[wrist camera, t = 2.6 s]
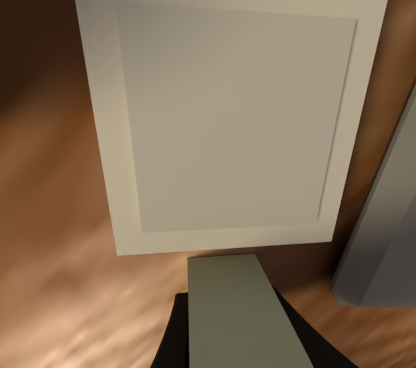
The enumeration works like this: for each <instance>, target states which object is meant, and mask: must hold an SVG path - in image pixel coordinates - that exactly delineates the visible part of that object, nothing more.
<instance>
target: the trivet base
mask: <svg viewBox="0 0 416 368" xmlns="http://www.w3.org/2000/svg"><path fill="white" fill-rule="evenodd" d="M75 3H76V9H77V15H78V21H79V27H80V33H81V39H82V45H83V52H84V58H85V64H86V70H87V76H88V82H89V88H90V94H91V100H92V106H93V112H94V118H95V124H96V130H97V136H98V142H99V148H100V154H101V160H102V167H103V173H104V179H105V185H106V191H107V197H108V203H109V209H110V215H111V221H112V227H113V233H114V239H115V245H116V251H117V256H119V255H135V254H150V253H165V252H180V251H195V250H211V249H226V248H241V247H256V246H272V245H287V244H302V243H317V242H331V241H332V237H333V233H334V228H335V224H336V220H337V215H338V211H339V207H340V202H341V198H342V194H343V190H344V185H345V181H346V177H347V172H348V168H349V164H350V159H351V155H352V151H353V147H354V142H355V138H356V134H357V129H358V125H359V121H360V116H361V112H362V108H363V104H364V99H365V95H366V91H367V86H368V82H369V78H370V74H371V69H372V65H373V61H374V56H375V52H376V48H377V43H378V39H379V35H380V31H381V26H382V22H383V18H384V13H385V9H386V5H387V0H75Z"/></svg>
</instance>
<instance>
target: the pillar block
mask: <svg viewBox="0 0 416 368" xmlns="http://www.w3.org/2000/svg"><path fill="white" fill-rule="evenodd" d="M188 307H189V358H190V368H314V367H313V365H312V363H311V361H310V359H309V357H308V355H307V353H306V351H305V350H304V348H303V346H302V344H301V342H300V340H299V338H298V336H297V334H296V332H295V330H294V328H293V326H292V324H291V323H290V321H289V319H288V317H287V315H286V313H285V311H284V309H283V307H282V305H281V303H280V301H279V299H278V297H277V296H276V294H275V292H274V290H273V288H272V286H271V284H270V282H269V280H268V278H267V276H266V274H265V272H264V270H263V269H262V267H261V265H260V263H259V261H258V259H257V257H256V255H255V254H240V255H226V256H212V257H197V258H188Z"/></svg>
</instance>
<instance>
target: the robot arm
mask: <svg viewBox="0 0 416 368" xmlns="http://www.w3.org/2000/svg"><path fill="white" fill-rule="evenodd" d="M271 286H272V285H271ZM272 288H273V290H274V292H275V294H276V296H277V297H278V299H279V301H280V303H281V305H282V307H283V309H284V311H285V313H286V315H287V317H288V319H289V321H290V323H291V324H292V326H293V328H294V330H295V332H296V334H297V336H298V338H299V340H300V342H301V344H302V346H303V348H304V350H305V351H306V353H307V355H308V357H309V359H310V361H311V363H312V365H313V367H314V368H358V367H357V366H356V365H355V364H353V363H352V362H351V361H350V360H348V359H347V358H346V357H345V356H344V355H343V354H341V353H340V352H339V351H338V350H337V349H335V348H334V347H333V346H332V345H331V344H330V343H329V342H328V341H326V340H325V339H324V338H323V337H322V336H321V335H320V334H319V333H318V332H317V331H316V330H315V329H314V328H313V327H312V326H311V325H310V324H308V323H307V321H306V320H305V319H304V318H303V317H302V316H301V315H300V314H299V313H298V312H297V311H296V310H295V309H294V308H293V307H292V306H291V305H290V304H289V303H288V302H287V301H286V300H285V299H284V297H283V296H282V295H281V294H280V293H279V292H278V291H277V290H276V289H275V288H274V286H272ZM189 360H190V358H189V307H188V292H187V293H177V294H176V295H175V301H174V305H173V309H172V313H171V316H170V319H169V322H168V325H167V328H166V331H165V334H164V336H163V339H162V341H161V344H160V346H159V349H158V351H157V354H156V356H155V358H154V361H153V363H152V365H151V367H150V368H189Z"/></svg>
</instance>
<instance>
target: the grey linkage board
mask: <svg viewBox="0 0 416 368" xmlns="http://www.w3.org/2000/svg"><path fill="white" fill-rule="evenodd" d="M329 289H330V291H331V292H332V294H333V296H334V297H335V299H336V301H337V302H338V303H339V305H345V306H361V307H416V78H415V81H414V83H413V86H412V88H411V90H410V93H409V95H408V98H407V100H406V102H405V105H404V107H403V109H402V112H401V114H400V117H399V119H398V121H397V124H396V126H395V129H394V131H393V133H392V136H391V138H390V141H389V143H388V145H387V148H386V150H385V153H384V155H383V157H382V160H381V162H380V165H379V167H378V169H377V172H376V174H375V176H374V179H373V181H372V184H371V186H370V188H369V191H368V193H367V196H366V198H365V200H364V203H363V205H362V208H361V210H360V212H359V215H358V217H357V220H356V222H355V224H354V227H353V229H352V231H351V234H350V236H349V239H348V241H347V243H346V246H345V248H344V251H343V253H342V255H341V258H340V260H339V263H338V265H337V267H336V270H335V272H334V275H333V277H332V280H331V284H330V288H329Z"/></svg>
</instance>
